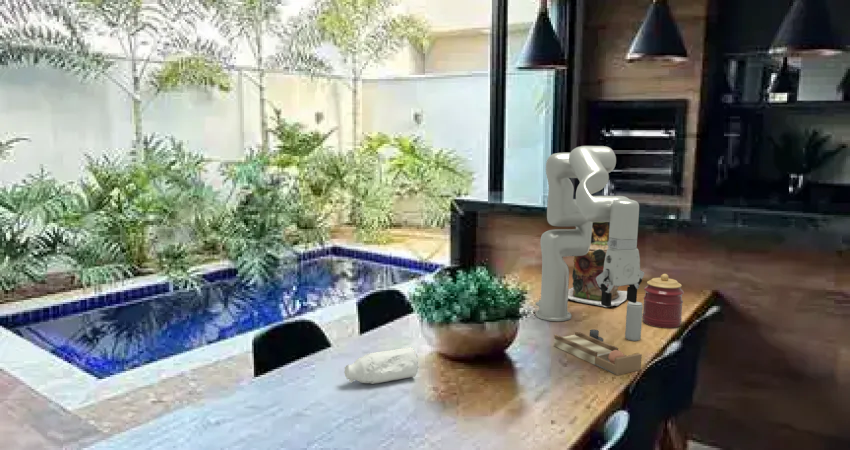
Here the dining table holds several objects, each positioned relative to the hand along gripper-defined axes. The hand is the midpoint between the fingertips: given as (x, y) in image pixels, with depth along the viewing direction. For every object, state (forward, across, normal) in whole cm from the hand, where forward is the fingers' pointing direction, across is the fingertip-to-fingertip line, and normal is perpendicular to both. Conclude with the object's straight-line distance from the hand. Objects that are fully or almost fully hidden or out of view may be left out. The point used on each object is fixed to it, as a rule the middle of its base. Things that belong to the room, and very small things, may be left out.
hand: (618, 303), depth 182 cm
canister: (+19, +45, +24) cm, 54 cm away
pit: (+18, 0, -1) cm, 18 cm away
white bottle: (+19, -64, +19) cm, 69 cm away
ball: (+18, 0, -1) cm, 18 cm away
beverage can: (+19, +23, +15) cm, 33 cm away
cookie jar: (+19, +48, +60) cm, 79 cm away
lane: (+18, 0, +12) cm, 22 cm away
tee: (+18, +11, +20) cm, 29 cm away
